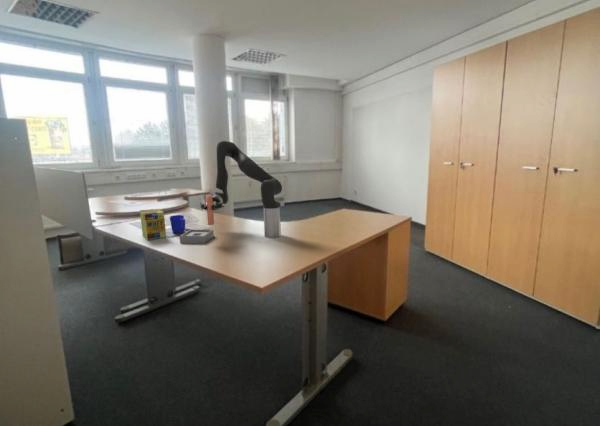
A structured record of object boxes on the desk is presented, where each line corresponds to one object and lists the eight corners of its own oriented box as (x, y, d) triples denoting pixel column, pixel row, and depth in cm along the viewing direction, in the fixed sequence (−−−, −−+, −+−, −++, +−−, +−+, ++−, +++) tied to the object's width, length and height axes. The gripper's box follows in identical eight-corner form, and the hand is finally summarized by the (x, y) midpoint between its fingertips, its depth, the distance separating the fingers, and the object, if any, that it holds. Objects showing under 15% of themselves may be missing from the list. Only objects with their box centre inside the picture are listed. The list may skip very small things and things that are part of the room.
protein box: (147, 240, 178) (144, 214, 175) (142, 235, 190) (139, 210, 187) (166, 237, 184) (164, 211, 181) (160, 232, 196) (158, 208, 193)
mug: (179, 235, 188) (177, 219, 186) (168, 232, 196) (167, 216, 194) (191, 232, 195) (189, 216, 193) (180, 229, 202) (178, 214, 200)
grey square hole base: (213, 236, 185) (213, 229, 184) (204, 243, 171) (203, 236, 171) (191, 236, 186) (190, 229, 186) (180, 242, 173) (179, 235, 172)
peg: (215, 223, 173) (213, 195, 169) (212, 225, 169) (210, 196, 166) (209, 223, 173) (207, 195, 170) (207, 224, 170) (204, 196, 166)
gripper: (202, 196, 182) (194, 201, 165) (226, 195, 183) (221, 200, 166) (203, 209, 183) (195, 215, 167) (227, 208, 184) (222, 214, 168)
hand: (208, 208), depth 166 cm, fingers closed on peg, 3 cm apart
